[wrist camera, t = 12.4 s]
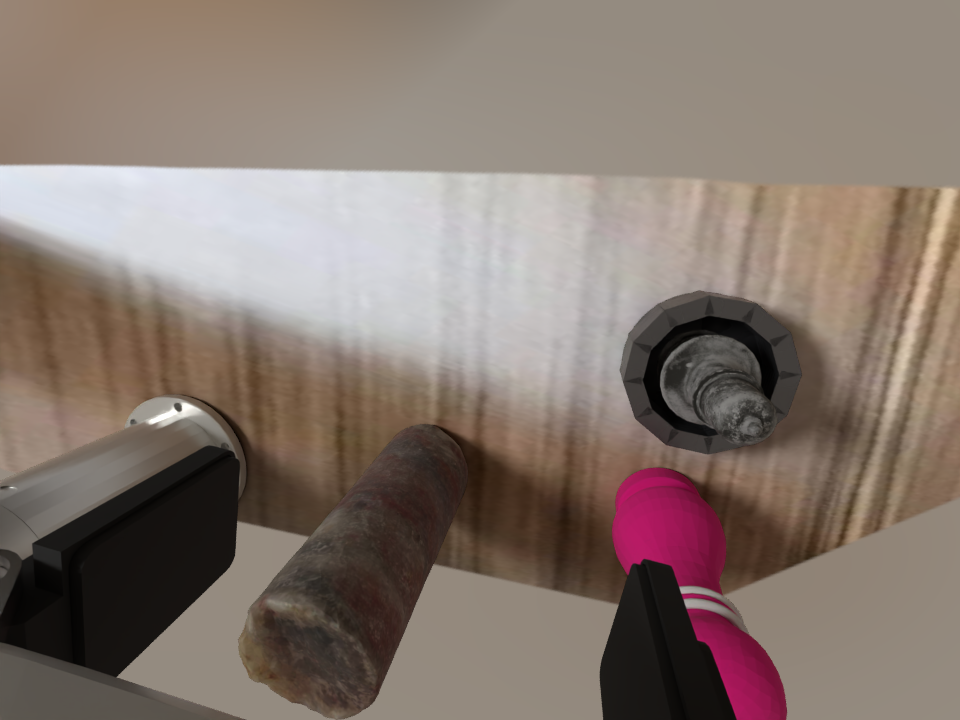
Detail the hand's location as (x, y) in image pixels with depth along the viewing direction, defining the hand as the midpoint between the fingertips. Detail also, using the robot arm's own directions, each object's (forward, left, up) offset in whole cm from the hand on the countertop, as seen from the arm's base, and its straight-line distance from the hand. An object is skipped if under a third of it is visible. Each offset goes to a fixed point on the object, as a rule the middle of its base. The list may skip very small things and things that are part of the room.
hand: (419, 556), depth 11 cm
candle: (-12, -8, -26) cm, 30 cm away
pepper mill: (+5, -16, -26) cm, 31 cm away
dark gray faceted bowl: (+10, -6, -26) cm, 29 cm away
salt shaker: (+10, -6, -26) cm, 28 cm away
